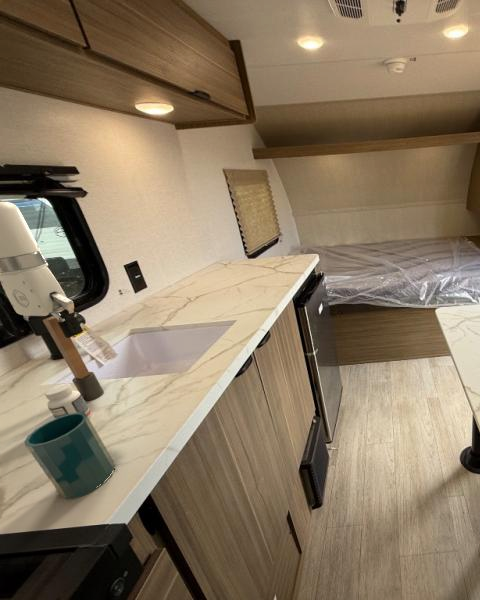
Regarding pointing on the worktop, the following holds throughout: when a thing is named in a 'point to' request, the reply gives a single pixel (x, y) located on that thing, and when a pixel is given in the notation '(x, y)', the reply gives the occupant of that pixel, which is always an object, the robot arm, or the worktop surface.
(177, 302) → the worktop surface
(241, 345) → the worktop surface
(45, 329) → the robot arm
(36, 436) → the teal handleless cup
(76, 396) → the pill bottle
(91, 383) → the brush
